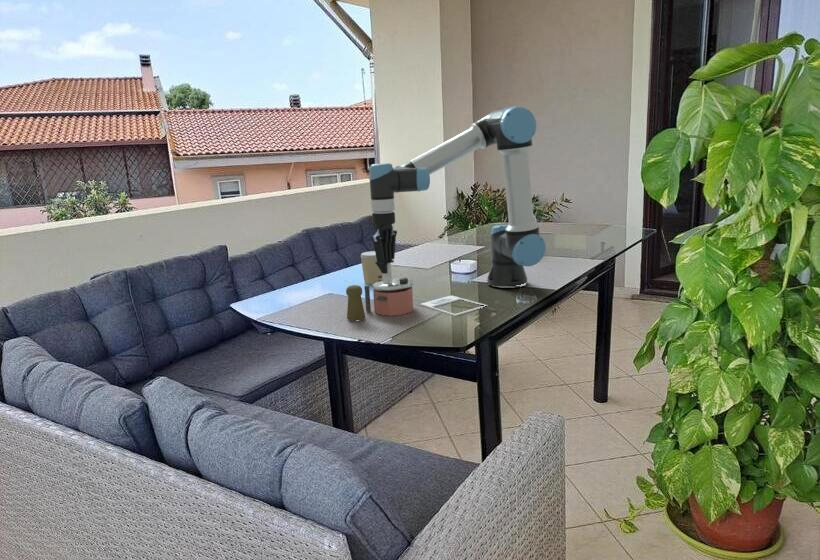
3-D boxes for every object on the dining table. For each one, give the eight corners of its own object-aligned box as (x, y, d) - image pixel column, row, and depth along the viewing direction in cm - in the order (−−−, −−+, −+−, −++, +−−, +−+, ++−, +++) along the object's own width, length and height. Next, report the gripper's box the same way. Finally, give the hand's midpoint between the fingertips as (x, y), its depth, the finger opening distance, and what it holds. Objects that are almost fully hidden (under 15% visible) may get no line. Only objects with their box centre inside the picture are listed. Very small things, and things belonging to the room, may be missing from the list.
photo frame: (451, 294, 206) (487, 304, 192) (451, 297, 206) (487, 307, 192) (419, 303, 197) (455, 314, 183) (419, 306, 198) (455, 317, 184)
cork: (347, 316, 189) (344, 284, 186) (365, 315, 189) (363, 283, 187) (346, 322, 183) (344, 288, 180) (365, 320, 183) (363, 287, 181)
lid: (420, 281, 194) (419, 274, 193) (401, 291, 182) (400, 283, 182) (386, 280, 200) (385, 273, 200) (365, 290, 189) (364, 283, 188)
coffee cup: (382, 285, 227) (380, 255, 224) (359, 285, 229) (357, 255, 226) (387, 279, 236) (386, 250, 233) (366, 279, 238) (364, 250, 235)
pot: (421, 305, 197) (420, 279, 195) (399, 318, 184) (397, 291, 181) (385, 301, 204) (384, 276, 202) (361, 314, 190) (359, 288, 188)
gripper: (383, 209, 194) (387, 277, 199) (362, 214, 182) (367, 285, 188) (402, 209, 190) (406, 278, 196) (382, 214, 179) (387, 287, 185)
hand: (387, 282), depth 192 cm, fingers closed
